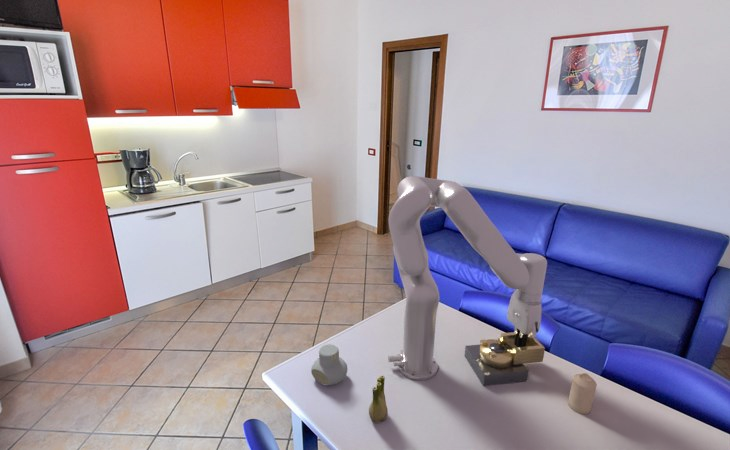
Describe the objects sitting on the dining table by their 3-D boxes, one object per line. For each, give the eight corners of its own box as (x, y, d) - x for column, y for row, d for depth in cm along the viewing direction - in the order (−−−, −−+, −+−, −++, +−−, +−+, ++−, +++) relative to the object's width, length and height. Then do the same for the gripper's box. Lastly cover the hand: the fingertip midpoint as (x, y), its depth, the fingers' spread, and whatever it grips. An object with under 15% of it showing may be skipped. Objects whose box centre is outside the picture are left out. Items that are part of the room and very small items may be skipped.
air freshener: (307, 377, 112) (305, 349, 109) (325, 363, 119) (324, 336, 116) (334, 393, 106) (333, 364, 103) (352, 377, 112) (351, 349, 109)
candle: (569, 396, 105) (575, 367, 102) (591, 404, 102) (598, 375, 99) (566, 408, 101) (572, 378, 98) (589, 417, 98) (596, 387, 95)
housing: (483, 386, 109) (484, 374, 108) (464, 355, 122) (465, 345, 121) (526, 381, 111) (528, 370, 110) (503, 352, 124) (505, 341, 123)
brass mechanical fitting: (487, 369, 110) (489, 354, 108) (473, 348, 119) (475, 334, 118) (543, 363, 112) (546, 349, 111) (525, 343, 122) (527, 330, 120)
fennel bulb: (374, 428, 94) (375, 391, 91) (363, 416, 98) (363, 379, 95) (392, 418, 98) (393, 381, 94) (380, 406, 102) (381, 370, 98)
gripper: (502, 284, 117) (495, 333, 122) (534, 308, 103) (525, 362, 108) (522, 281, 118) (515, 330, 124) (556, 304, 105) (546, 358, 110)
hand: (519, 345), depth 116 cm, fingers closed
